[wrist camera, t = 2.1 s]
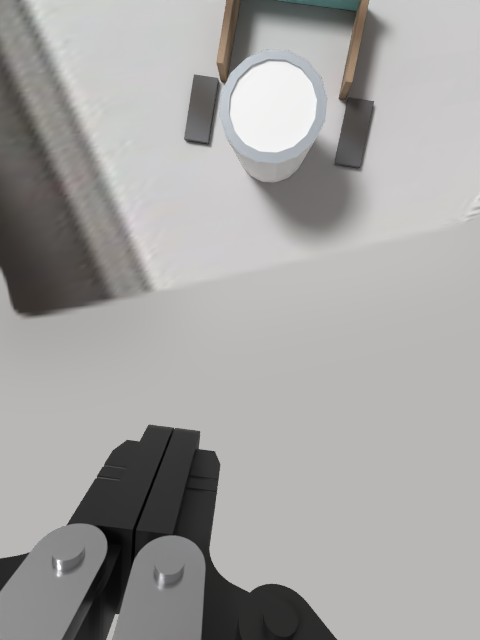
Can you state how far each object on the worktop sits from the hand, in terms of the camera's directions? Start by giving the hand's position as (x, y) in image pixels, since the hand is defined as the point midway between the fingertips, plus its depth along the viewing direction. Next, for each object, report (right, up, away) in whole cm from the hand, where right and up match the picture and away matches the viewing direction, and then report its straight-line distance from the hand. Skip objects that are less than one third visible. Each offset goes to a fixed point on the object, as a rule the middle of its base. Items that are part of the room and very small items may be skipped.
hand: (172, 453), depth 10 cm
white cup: (+5, +18, +19) cm, 27 cm away
